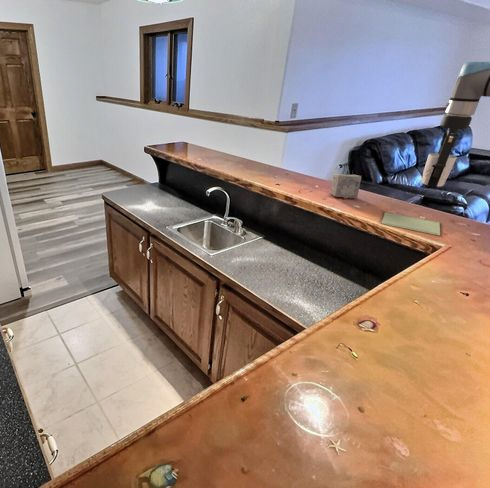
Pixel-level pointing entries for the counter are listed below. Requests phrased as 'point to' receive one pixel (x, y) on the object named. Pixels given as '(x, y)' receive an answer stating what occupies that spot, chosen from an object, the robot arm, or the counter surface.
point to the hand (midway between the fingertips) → (431, 183)
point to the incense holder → (345, 185)
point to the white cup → (428, 167)
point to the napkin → (411, 223)
